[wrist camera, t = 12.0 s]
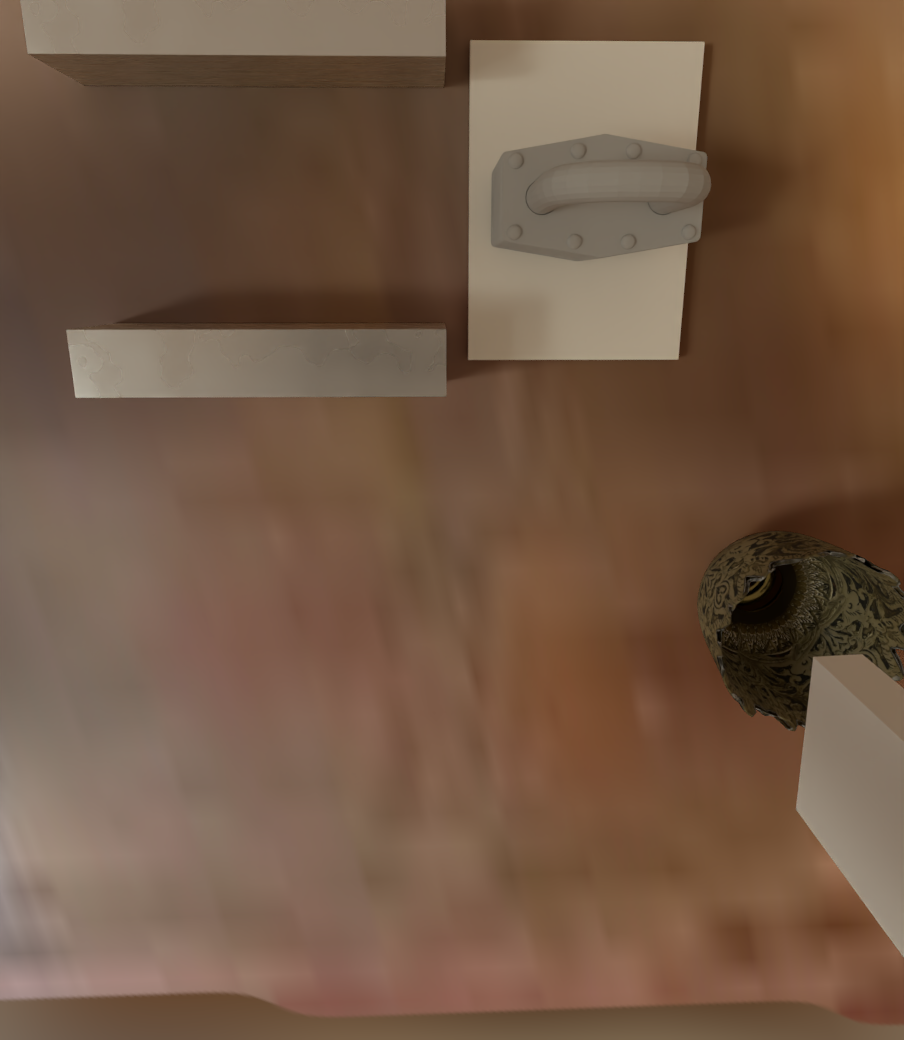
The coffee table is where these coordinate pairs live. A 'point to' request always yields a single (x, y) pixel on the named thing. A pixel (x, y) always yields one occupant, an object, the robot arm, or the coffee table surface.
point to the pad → (556, 118)
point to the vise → (255, 63)
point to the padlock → (597, 197)
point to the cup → (795, 618)
